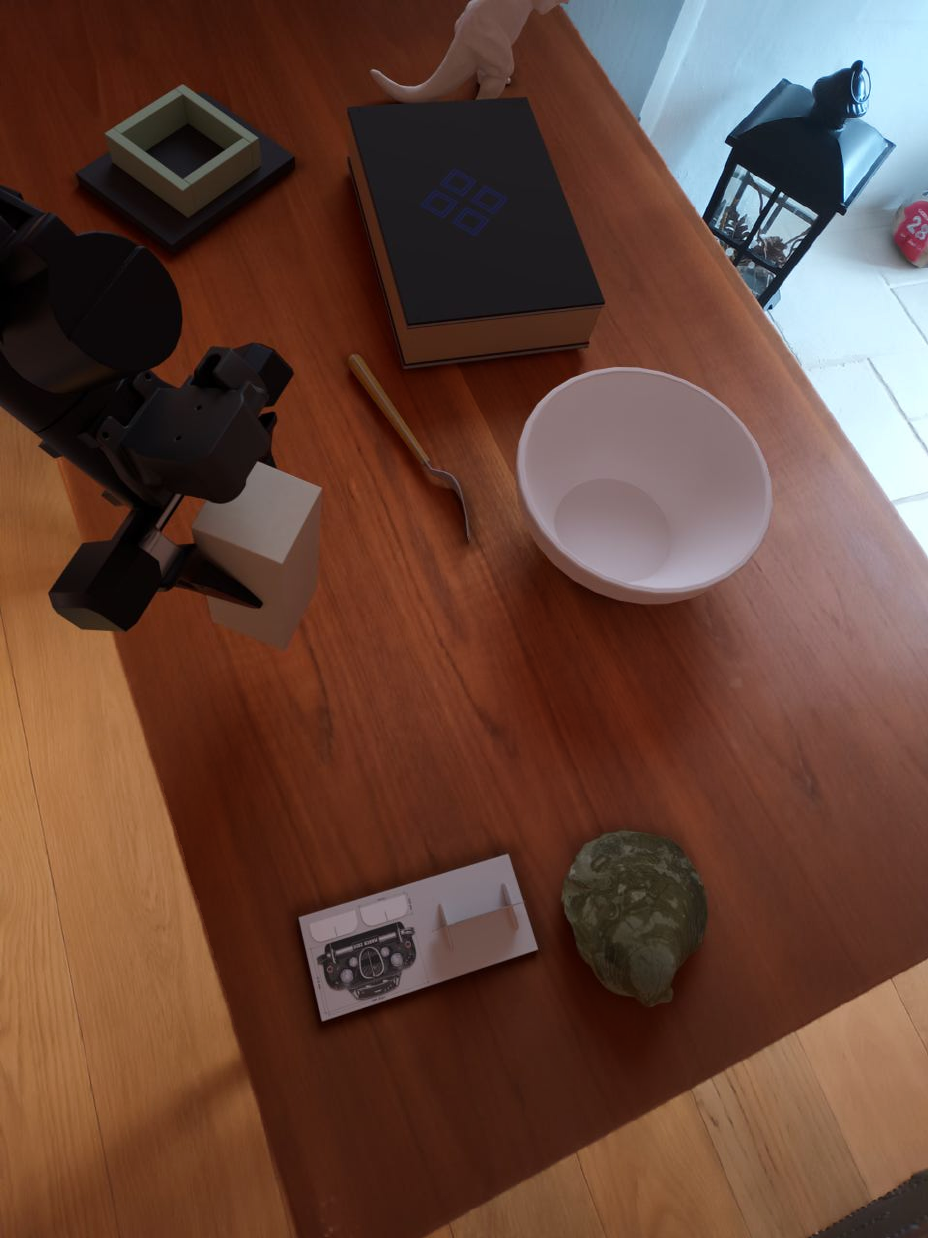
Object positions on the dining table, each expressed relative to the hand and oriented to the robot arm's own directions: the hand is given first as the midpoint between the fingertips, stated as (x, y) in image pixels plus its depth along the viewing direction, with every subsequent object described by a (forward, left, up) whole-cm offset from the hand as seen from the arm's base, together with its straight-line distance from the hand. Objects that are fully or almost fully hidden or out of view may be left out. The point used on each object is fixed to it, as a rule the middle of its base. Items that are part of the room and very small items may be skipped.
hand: (279, 569), depth 54 cm
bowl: (+27, +8, -13) cm, 31 cm away
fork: (+11, +17, -13) cm, 24 cm away
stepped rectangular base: (-7, +48, -12) cm, 50 cm away
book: (+18, +38, -13) cm, 44 cm away
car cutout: (+8, -22, -13) cm, 27 cm away
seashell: (+23, -22, -13) cm, 34 cm away
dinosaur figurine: (+21, +60, -13) cm, 64 cm away
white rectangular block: (-1, +1, -7) cm, 7 cm away
